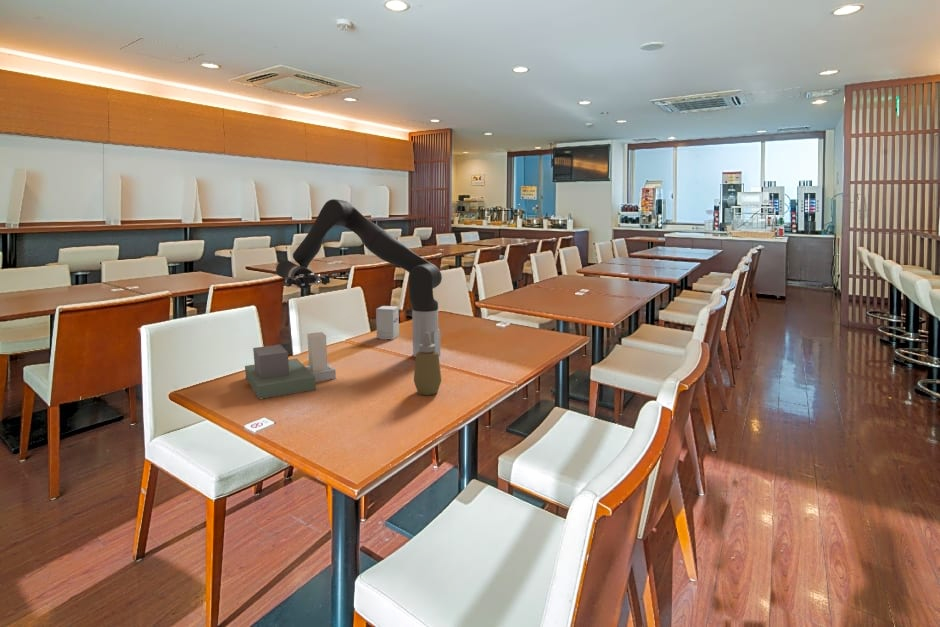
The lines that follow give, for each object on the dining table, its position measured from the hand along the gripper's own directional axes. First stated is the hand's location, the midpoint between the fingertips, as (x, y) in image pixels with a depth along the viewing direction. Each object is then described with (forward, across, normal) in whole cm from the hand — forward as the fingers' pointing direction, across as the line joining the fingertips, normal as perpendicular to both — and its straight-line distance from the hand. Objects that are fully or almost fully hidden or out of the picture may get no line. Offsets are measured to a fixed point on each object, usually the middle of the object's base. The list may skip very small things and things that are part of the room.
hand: (313, 282), depth 178 cm
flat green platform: (+16, -12, +28) cm, 35 cm away
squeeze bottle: (+46, +19, +28) cm, 57 cm away
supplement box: (-20, +35, +28) cm, 49 cm away
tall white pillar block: (+16, -4, +28) cm, 33 cm away
